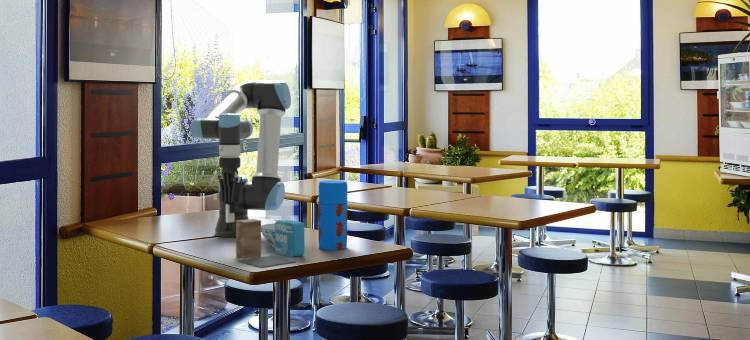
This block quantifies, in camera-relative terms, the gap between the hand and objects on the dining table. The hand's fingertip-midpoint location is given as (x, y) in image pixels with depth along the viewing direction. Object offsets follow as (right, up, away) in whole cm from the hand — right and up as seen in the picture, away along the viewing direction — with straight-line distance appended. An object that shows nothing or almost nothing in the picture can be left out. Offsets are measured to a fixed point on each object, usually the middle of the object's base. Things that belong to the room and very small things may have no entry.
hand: (230, 221), depth 277 cm
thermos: (+36, -11, +11) cm, 40 cm away
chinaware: (+16, -10, +14) cm, 24 cm away
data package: (+22, -12, -2) cm, 25 cm away
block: (+8, -12, -8) cm, 16 cm away
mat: (+15, -13, -16) cm, 25 cm away
